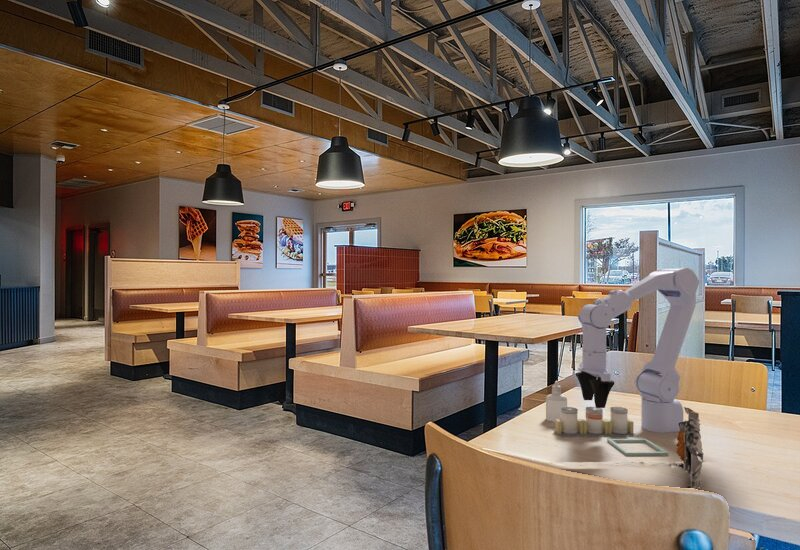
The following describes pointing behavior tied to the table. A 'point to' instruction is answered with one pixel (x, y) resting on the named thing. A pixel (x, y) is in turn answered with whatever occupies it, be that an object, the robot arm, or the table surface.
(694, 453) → the meal
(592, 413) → the cylinder
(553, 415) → the eye dropper bottle
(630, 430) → the fuse holder
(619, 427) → the fuse
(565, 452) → the table surface
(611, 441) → the tray
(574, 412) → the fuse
